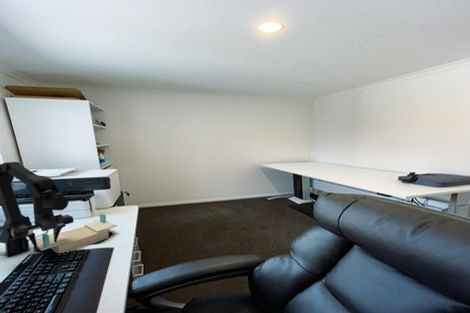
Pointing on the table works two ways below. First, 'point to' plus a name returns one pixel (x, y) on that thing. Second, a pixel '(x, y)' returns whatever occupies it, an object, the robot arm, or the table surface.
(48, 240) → the flap near
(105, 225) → the flap far
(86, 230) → the carton
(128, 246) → the table surface
